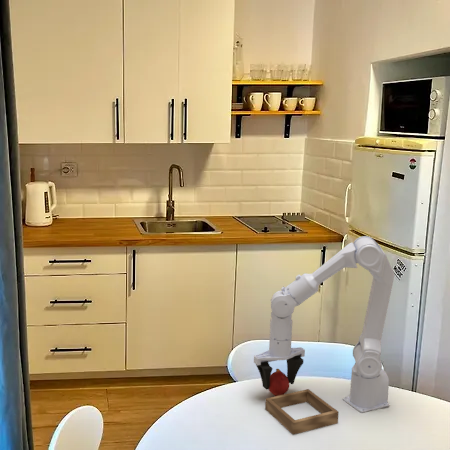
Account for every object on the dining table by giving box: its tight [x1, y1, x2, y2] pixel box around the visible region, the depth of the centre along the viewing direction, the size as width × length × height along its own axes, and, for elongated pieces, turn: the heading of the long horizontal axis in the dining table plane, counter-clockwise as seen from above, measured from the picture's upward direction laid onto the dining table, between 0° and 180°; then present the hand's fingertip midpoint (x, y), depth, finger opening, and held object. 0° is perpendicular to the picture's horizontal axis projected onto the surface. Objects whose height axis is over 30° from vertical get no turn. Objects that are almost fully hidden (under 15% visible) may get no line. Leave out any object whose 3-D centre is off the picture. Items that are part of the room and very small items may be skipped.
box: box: [264, 388, 340, 436], centre depth 147 cm, size 13×13×3 cm
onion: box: [268, 368, 290, 397], centre depth 156 cm, size 6×6×8 cm
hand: (278, 385), depth 156 cm, fingers open, 7 cm apart
